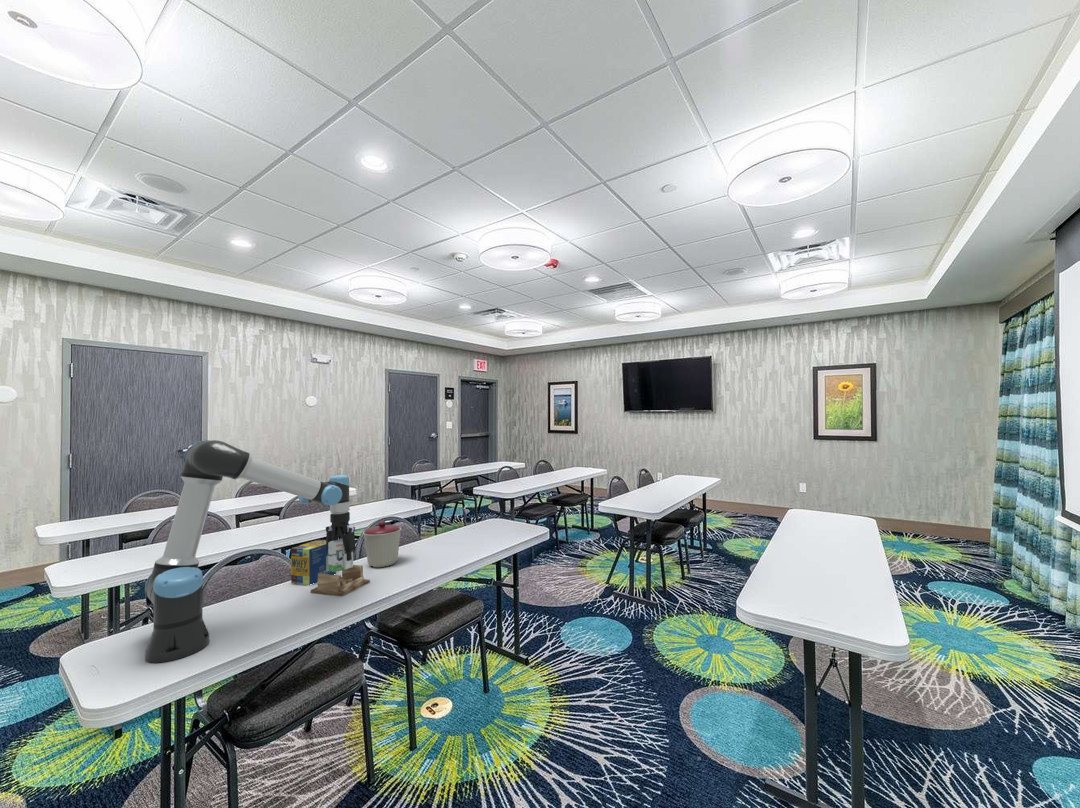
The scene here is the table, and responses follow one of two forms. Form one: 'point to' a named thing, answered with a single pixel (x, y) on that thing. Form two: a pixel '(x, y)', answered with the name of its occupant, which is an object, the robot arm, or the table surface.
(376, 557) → the canister
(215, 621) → the table surface
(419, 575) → the table surface
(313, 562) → the protein box
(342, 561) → the ink box
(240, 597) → the table surface
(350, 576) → the peg frame
